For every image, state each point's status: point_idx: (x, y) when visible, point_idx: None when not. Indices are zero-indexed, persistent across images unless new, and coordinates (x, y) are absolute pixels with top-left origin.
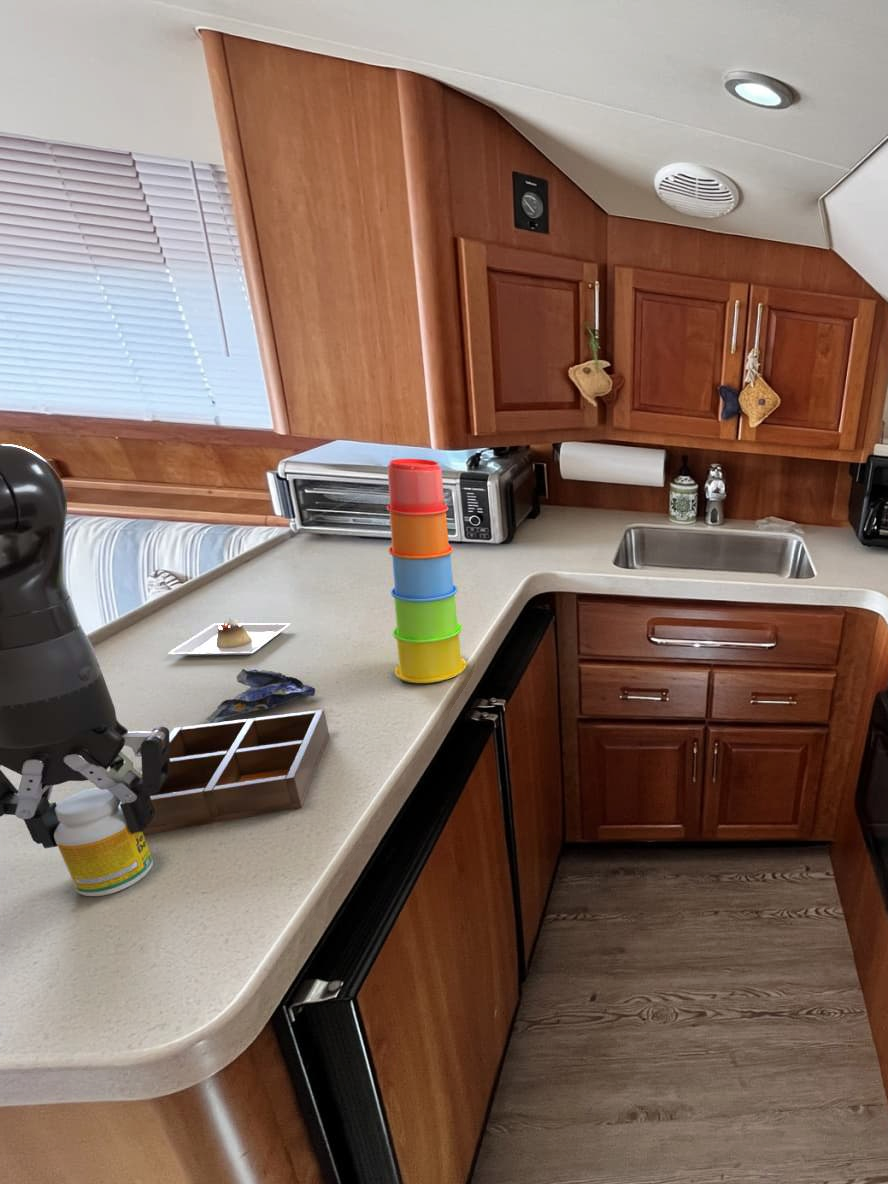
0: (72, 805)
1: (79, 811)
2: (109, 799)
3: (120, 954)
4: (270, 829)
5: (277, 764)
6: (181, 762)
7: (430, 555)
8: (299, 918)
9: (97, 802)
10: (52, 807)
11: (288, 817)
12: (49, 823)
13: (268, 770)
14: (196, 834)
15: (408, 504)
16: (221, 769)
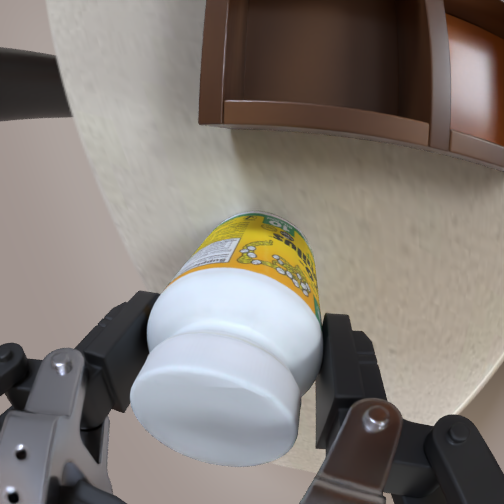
0: (183, 437)
1: (222, 465)
2: (286, 451)
3: (310, 411)
4: (479, 223)
5: (484, 20)
6: None
7: None
8: (461, 410)
9: (254, 453)
10: (113, 371)
11: (501, 197)
12: (136, 374)
13: (461, 17)
14: (367, 172)
15: None
16: (441, 37)
